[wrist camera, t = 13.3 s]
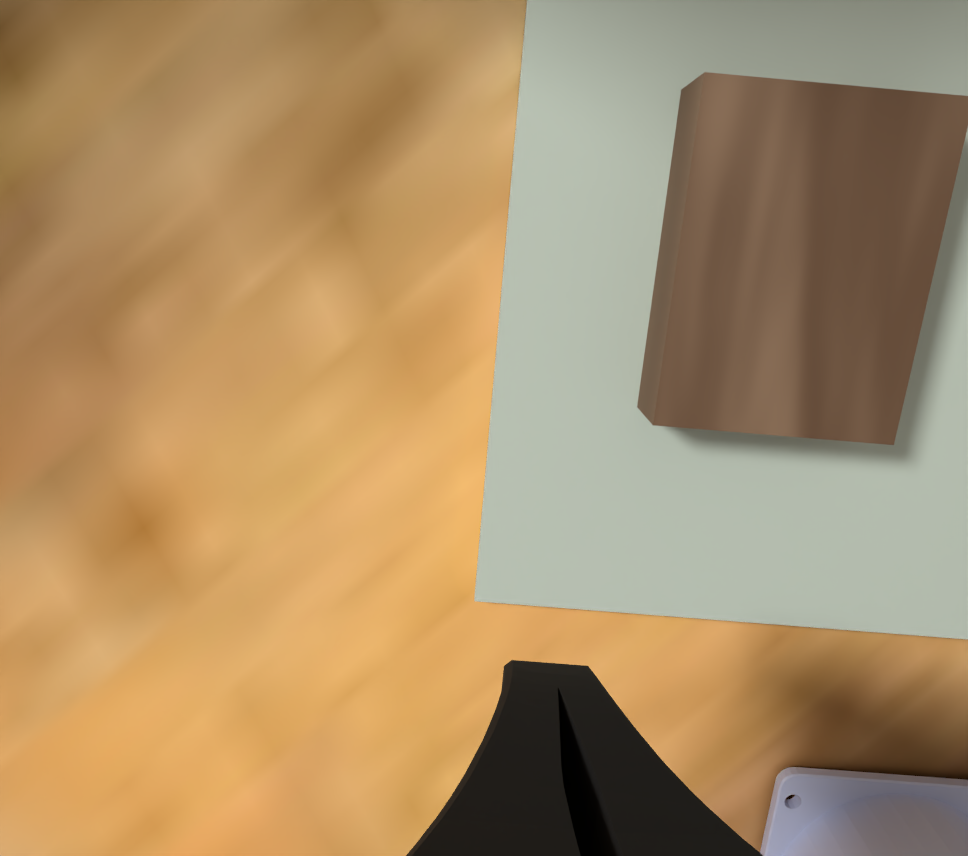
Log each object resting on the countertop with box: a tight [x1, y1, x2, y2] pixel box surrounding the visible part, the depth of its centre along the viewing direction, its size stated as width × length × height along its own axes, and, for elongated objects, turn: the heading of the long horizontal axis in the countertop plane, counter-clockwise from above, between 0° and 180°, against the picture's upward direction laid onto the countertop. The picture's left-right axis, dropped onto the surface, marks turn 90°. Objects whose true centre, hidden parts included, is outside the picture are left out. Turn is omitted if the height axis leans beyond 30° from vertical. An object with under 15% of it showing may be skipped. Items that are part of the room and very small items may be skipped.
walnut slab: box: [637, 72, 968, 445], centre depth 18 cm, size 2×8×6 cm
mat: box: [475, 0, 968, 639], centre depth 20 cm, size 18×18×1 cm
